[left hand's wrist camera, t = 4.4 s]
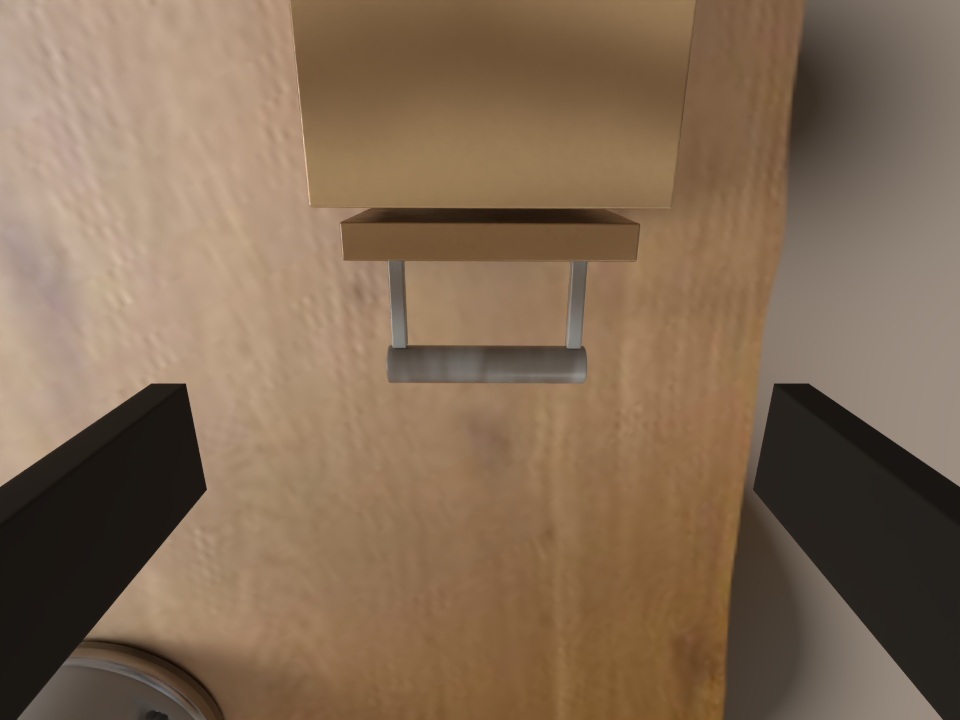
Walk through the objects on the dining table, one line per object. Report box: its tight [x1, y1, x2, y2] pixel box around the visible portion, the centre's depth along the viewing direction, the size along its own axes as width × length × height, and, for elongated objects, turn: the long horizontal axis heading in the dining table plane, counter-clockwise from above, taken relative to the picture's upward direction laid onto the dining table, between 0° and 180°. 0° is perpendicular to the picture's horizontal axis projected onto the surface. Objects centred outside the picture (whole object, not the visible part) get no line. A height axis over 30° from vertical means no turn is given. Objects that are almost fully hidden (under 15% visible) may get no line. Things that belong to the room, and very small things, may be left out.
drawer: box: [340, 208, 640, 383], centre depth 20 cm, size 22×9×8 cm, turn 0°
